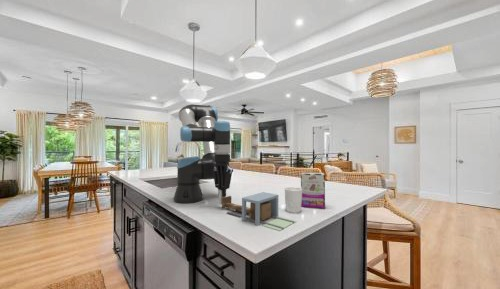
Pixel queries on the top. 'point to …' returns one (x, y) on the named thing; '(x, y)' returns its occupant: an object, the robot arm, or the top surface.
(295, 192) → the white cup
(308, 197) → the candy bar box
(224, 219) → the top surface
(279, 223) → the mat
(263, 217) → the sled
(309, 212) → the top surface
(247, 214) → the dark grey flat plate
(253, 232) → the top surface
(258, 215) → the tunnel
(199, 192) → the robot arm
